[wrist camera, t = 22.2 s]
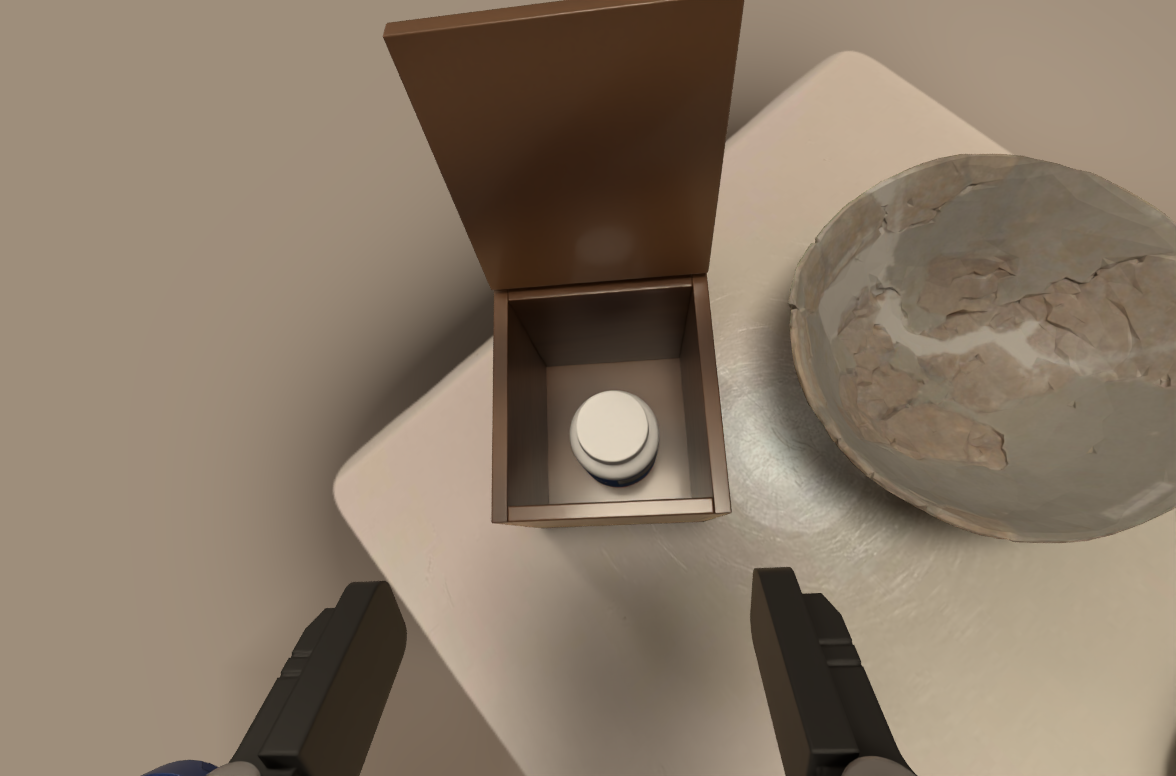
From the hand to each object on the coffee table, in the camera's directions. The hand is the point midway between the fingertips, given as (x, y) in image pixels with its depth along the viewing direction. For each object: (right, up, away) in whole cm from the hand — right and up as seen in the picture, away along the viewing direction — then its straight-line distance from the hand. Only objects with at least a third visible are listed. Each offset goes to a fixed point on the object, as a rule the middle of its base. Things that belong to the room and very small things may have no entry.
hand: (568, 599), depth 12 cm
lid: (0, +13, +11) cm, 17 cm away
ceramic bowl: (+24, +5, +27) cm, 37 cm away
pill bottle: (+3, 0, +27) cm, 27 cm away
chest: (+3, +1, +28) cm, 28 cm away
